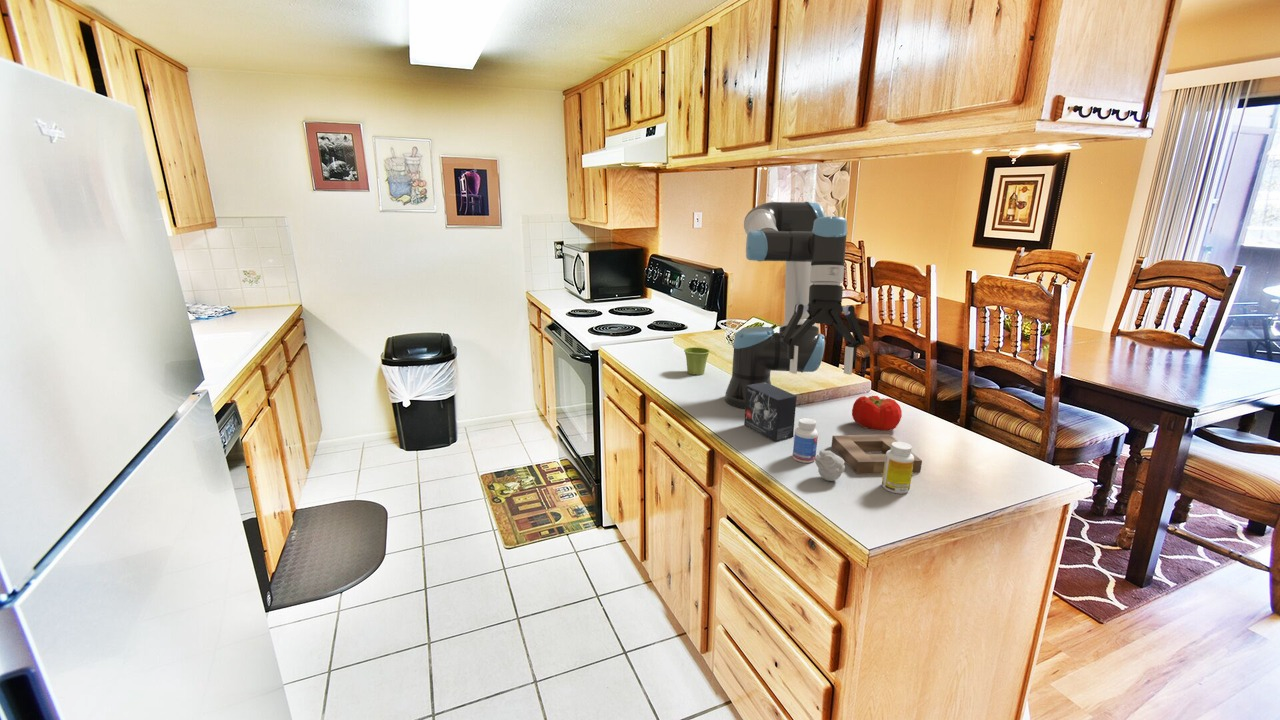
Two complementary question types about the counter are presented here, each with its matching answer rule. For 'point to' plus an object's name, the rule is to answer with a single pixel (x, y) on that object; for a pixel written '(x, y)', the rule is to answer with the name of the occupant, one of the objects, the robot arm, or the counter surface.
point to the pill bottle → (805, 441)
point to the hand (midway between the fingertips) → (820, 373)
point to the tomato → (876, 413)
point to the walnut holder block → (857, 445)
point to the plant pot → (696, 360)
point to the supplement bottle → (898, 468)
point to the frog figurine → (829, 465)
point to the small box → (770, 411)
